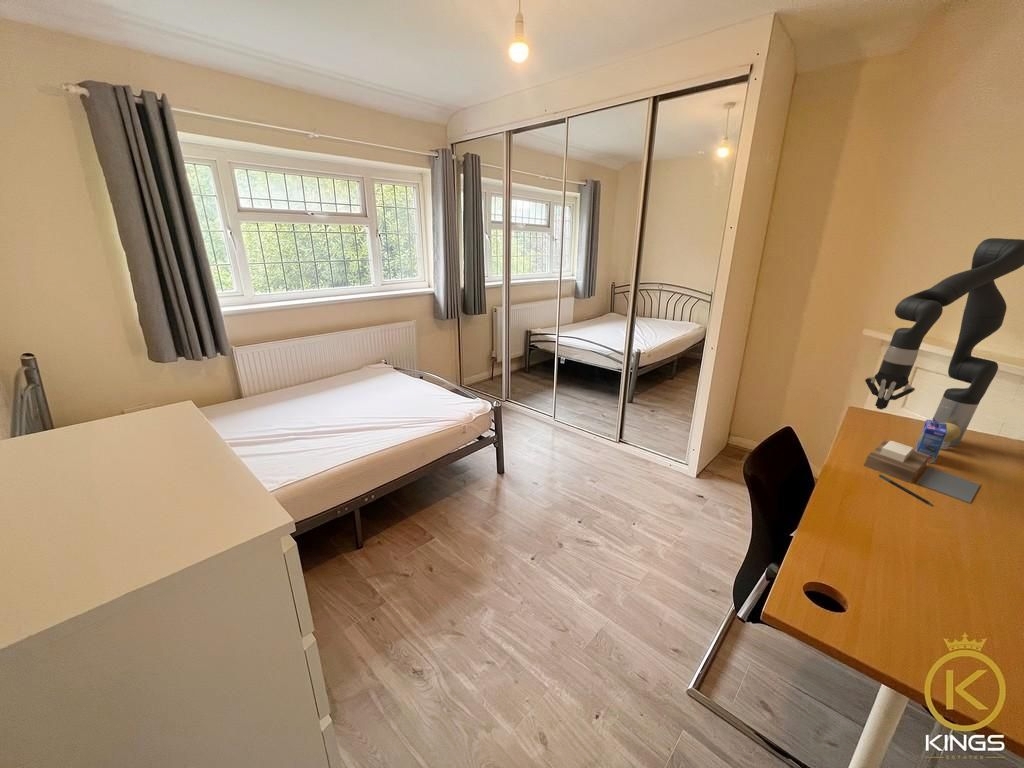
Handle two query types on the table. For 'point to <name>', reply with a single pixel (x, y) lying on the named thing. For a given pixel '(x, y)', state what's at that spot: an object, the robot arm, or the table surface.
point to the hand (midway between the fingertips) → (879, 408)
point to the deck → (897, 464)
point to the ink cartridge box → (931, 439)
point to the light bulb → (950, 434)
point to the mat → (948, 484)
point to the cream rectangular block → (896, 451)
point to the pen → (905, 490)
